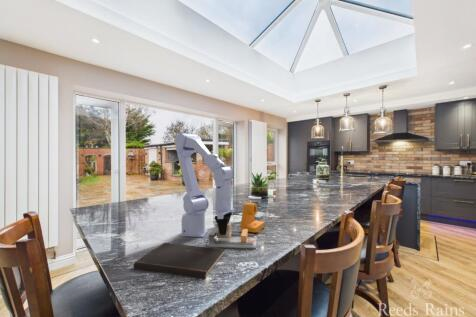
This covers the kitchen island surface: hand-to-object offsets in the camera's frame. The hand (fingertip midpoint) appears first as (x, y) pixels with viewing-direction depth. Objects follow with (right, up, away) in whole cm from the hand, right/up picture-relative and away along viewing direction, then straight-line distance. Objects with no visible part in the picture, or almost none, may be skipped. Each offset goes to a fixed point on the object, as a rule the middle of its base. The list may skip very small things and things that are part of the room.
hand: (223, 232), depth 86 cm
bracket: (+12, -4, +15) cm, 20 cm away
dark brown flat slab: (-12, -5, -16) cm, 20 cm away
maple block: (0, -2, 0) cm, 2 cm away
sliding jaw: (+8, -2, -1) cm, 8 cm away
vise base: (+3, -4, 0) cm, 5 cm away
